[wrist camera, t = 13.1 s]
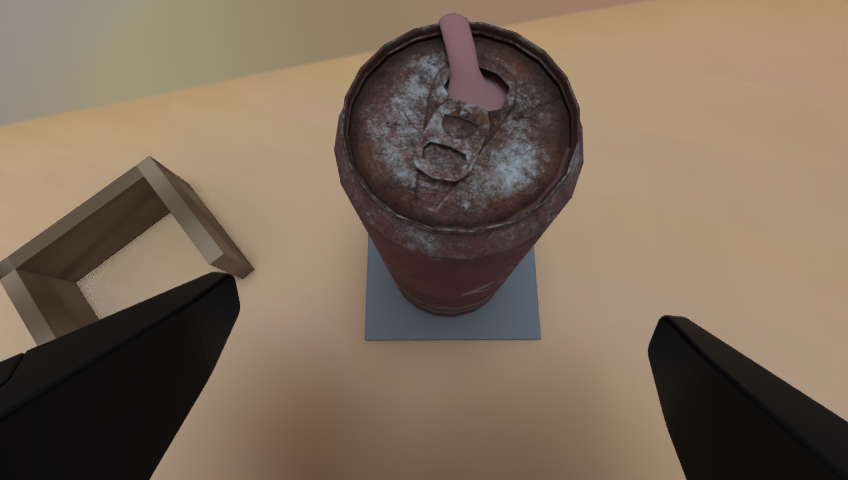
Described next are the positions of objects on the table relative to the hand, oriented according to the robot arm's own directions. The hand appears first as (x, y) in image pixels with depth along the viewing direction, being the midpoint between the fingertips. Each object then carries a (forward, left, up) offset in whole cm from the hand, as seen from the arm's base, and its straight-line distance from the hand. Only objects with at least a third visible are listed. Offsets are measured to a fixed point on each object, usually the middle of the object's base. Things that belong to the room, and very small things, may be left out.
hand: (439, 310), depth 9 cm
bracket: (+3, +15, -14) cm, 21 cm away
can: (+4, 0, -13) cm, 14 cm away
